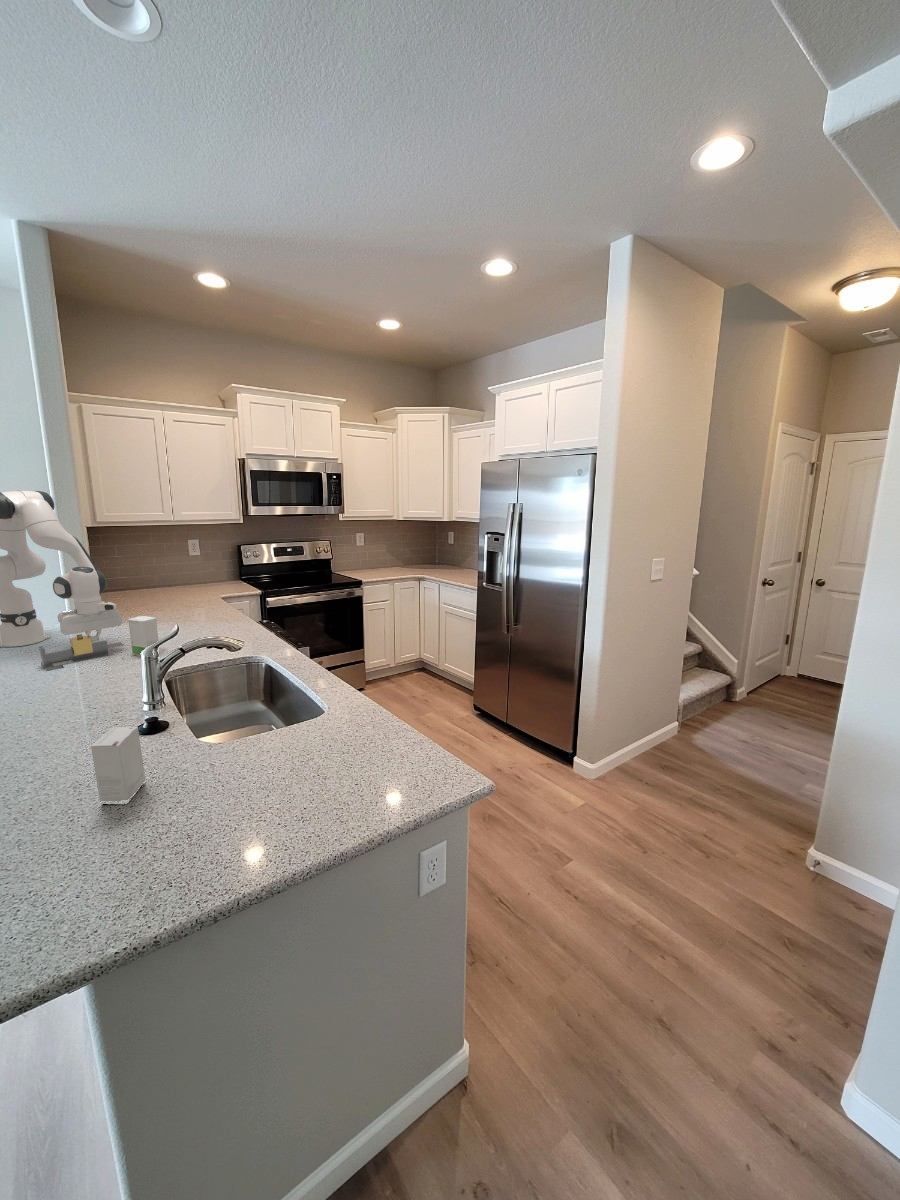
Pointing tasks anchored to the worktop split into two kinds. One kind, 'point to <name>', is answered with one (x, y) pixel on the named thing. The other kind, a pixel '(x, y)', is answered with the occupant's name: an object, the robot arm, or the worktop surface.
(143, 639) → the skincare box
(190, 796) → the worktop surface
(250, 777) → the worktop surface
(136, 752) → the skincare box
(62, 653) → the rail
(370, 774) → the worktop surface
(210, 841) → the worktop surface
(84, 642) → the gold knobbed block
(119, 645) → the thin grey square plate
